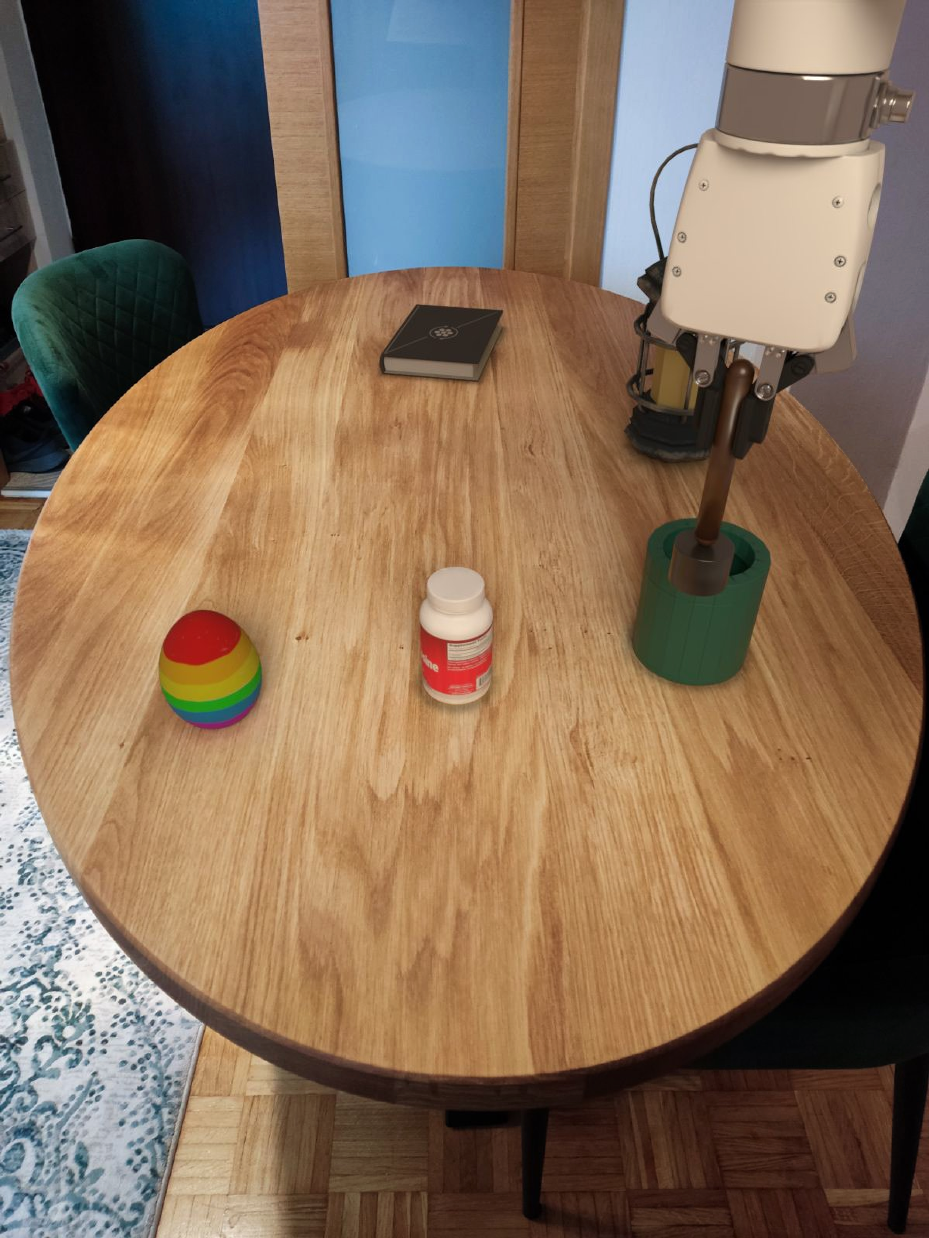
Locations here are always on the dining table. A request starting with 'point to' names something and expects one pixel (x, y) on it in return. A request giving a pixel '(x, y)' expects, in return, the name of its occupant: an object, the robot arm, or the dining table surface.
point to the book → (442, 343)
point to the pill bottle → (456, 636)
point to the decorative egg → (209, 670)
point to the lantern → (663, 375)
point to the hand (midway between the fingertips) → (725, 443)
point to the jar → (698, 611)
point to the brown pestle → (713, 500)
